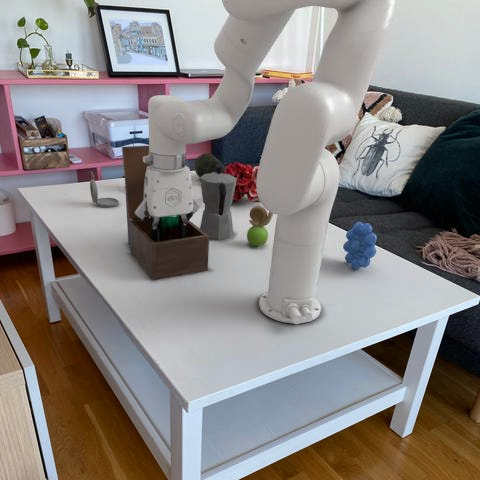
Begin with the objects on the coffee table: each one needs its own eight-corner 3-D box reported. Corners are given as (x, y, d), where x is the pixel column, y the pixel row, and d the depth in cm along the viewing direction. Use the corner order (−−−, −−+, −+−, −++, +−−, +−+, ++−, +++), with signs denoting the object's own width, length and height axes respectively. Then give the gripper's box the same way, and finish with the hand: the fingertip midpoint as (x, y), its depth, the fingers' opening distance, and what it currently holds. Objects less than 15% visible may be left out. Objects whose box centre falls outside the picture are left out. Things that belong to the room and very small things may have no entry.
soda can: (182, 256, 115) (183, 207, 109) (173, 264, 111) (173, 214, 104) (163, 252, 116) (162, 203, 110) (153, 260, 112) (152, 210, 106)
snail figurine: (269, 251, 123) (274, 205, 117) (244, 247, 124) (248, 201, 118) (272, 243, 128) (277, 198, 122) (248, 240, 129) (252, 195, 122)
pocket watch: (123, 204, 146) (121, 170, 141) (102, 211, 140) (99, 176, 134) (103, 198, 149) (101, 165, 144) (82, 204, 143) (78, 170, 138)
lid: (179, 144, 111) (170, 142, 115) (122, 147, 105) (115, 144, 109) (182, 212, 117) (174, 208, 122) (129, 218, 111) (122, 214, 116)
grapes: (383, 277, 115) (395, 229, 108) (358, 280, 113) (369, 231, 106) (357, 257, 124) (367, 212, 118) (334, 259, 122) (343, 213, 116)
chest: (208, 270, 112) (209, 236, 107) (153, 280, 106) (152, 244, 101) (181, 246, 122) (182, 214, 118) (130, 254, 116) (128, 220, 112)
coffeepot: (196, 224, 136) (198, 158, 126) (229, 225, 137) (233, 159, 128) (202, 247, 123) (204, 175, 113) (238, 246, 124) (243, 176, 115)
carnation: (202, 200, 178) (260, 226, 154) (166, 170, 165) (224, 193, 141) (226, 164, 178) (287, 185, 153) (192, 131, 165) (254, 148, 140)
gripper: (134, 168, 95) (137, 253, 105) (212, 162, 103) (208, 242, 112) (122, 158, 101) (126, 240, 110) (197, 154, 108) (195, 231, 118)
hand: (168, 240), depth 111 cm, fingers open, 5 cm apart
